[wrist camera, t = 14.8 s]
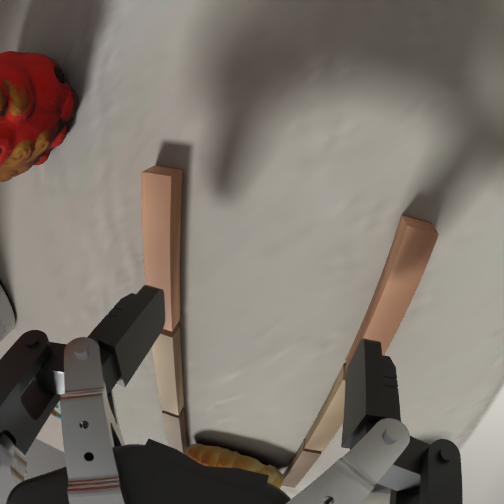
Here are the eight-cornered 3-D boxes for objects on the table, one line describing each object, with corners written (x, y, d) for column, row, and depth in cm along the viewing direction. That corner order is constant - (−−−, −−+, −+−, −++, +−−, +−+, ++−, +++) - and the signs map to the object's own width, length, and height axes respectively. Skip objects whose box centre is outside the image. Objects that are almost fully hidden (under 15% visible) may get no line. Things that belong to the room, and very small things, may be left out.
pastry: (182, 450, 28) (169, 479, 25) (198, 430, 24) (182, 466, 21) (264, 481, 28) (255, 511, 25) (293, 466, 24) (285, 502, 21)
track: (174, 445, 28) (170, 454, 27) (154, 165, 15) (141, 171, 14) (296, 477, 26) (294, 487, 25) (431, 223, 13) (438, 234, 12)
